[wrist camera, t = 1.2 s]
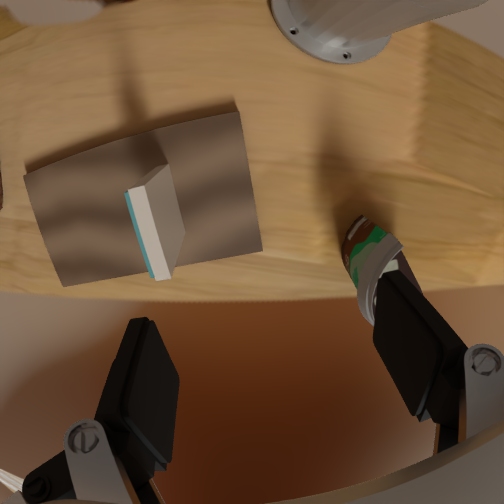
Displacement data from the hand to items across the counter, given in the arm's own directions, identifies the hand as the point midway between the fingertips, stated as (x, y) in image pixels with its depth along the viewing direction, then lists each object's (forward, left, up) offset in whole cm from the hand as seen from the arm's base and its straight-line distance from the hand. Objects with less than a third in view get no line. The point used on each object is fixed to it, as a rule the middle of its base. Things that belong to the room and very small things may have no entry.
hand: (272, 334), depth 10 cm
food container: (+11, +12, -22) cm, 27 cm away
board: (0, -11, -22) cm, 24 cm away
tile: (0, -7, -21) cm, 22 cm away
